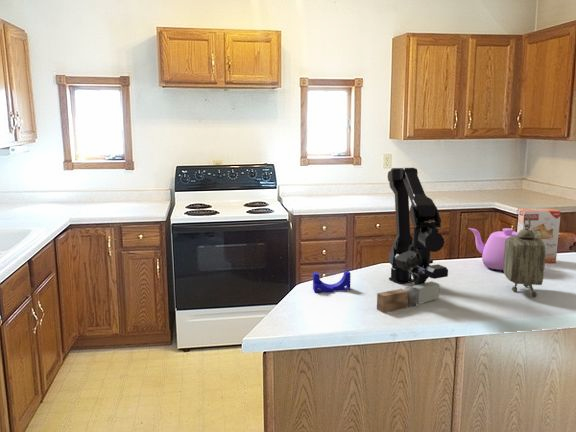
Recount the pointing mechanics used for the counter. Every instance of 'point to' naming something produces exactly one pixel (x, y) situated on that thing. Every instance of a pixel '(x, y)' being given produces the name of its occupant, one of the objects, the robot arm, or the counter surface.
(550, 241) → the cracker box
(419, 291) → the hinge leaf
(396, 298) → the hinge base
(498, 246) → the teapot
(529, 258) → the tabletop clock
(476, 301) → the counter surface
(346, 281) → the cable clip
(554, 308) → the counter surface
